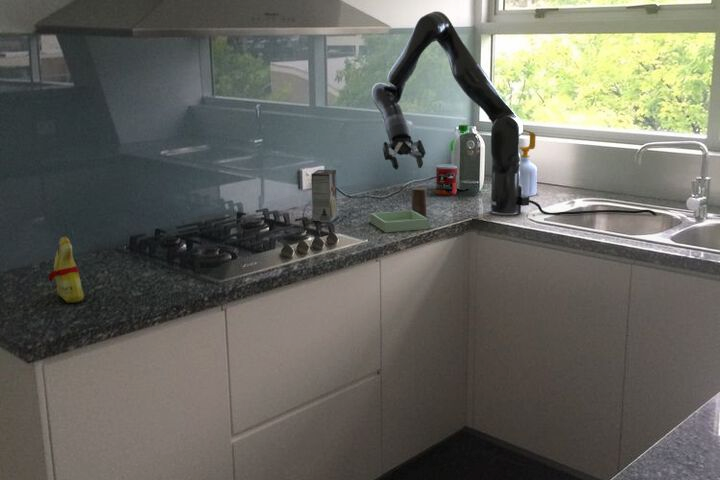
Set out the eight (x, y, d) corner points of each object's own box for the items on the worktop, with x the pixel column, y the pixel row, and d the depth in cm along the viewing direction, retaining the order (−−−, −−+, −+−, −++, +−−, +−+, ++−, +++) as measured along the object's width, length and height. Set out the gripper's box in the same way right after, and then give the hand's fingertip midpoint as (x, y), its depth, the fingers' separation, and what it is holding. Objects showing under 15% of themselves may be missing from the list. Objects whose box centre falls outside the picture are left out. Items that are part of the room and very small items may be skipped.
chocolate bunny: (73, 290, 202) (67, 230, 199) (88, 301, 194) (82, 239, 190) (44, 295, 198) (38, 235, 195) (58, 307, 190) (52, 244, 186)
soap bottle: (507, 193, 317) (510, 128, 311) (529, 191, 319) (532, 127, 313) (517, 197, 308) (520, 131, 302) (540, 196, 310) (543, 130, 304)
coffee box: (319, 216, 281) (317, 169, 277) (337, 216, 279) (336, 169, 276) (312, 222, 272) (310, 173, 268) (331, 222, 271) (330, 174, 267)
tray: (412, 219, 275) (412, 210, 274) (428, 228, 261) (428, 219, 260) (370, 222, 270) (370, 213, 270) (385, 232, 257) (385, 222, 256)
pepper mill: (423, 216, 279) (423, 186, 277) (428, 219, 275) (428, 189, 272) (409, 217, 278) (409, 187, 275) (414, 220, 273) (415, 190, 271)
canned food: (432, 195, 314) (432, 166, 312) (442, 191, 321) (442, 163, 318) (450, 196, 310) (451, 167, 308) (460, 193, 317) (460, 164, 314)
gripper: (380, 124, 284) (391, 161, 276) (419, 122, 288) (431, 159, 280) (375, 137, 290) (386, 175, 282) (413, 135, 294) (425, 172, 286)
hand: (408, 167), depth 281 cm, fingers open, 8 cm apart
